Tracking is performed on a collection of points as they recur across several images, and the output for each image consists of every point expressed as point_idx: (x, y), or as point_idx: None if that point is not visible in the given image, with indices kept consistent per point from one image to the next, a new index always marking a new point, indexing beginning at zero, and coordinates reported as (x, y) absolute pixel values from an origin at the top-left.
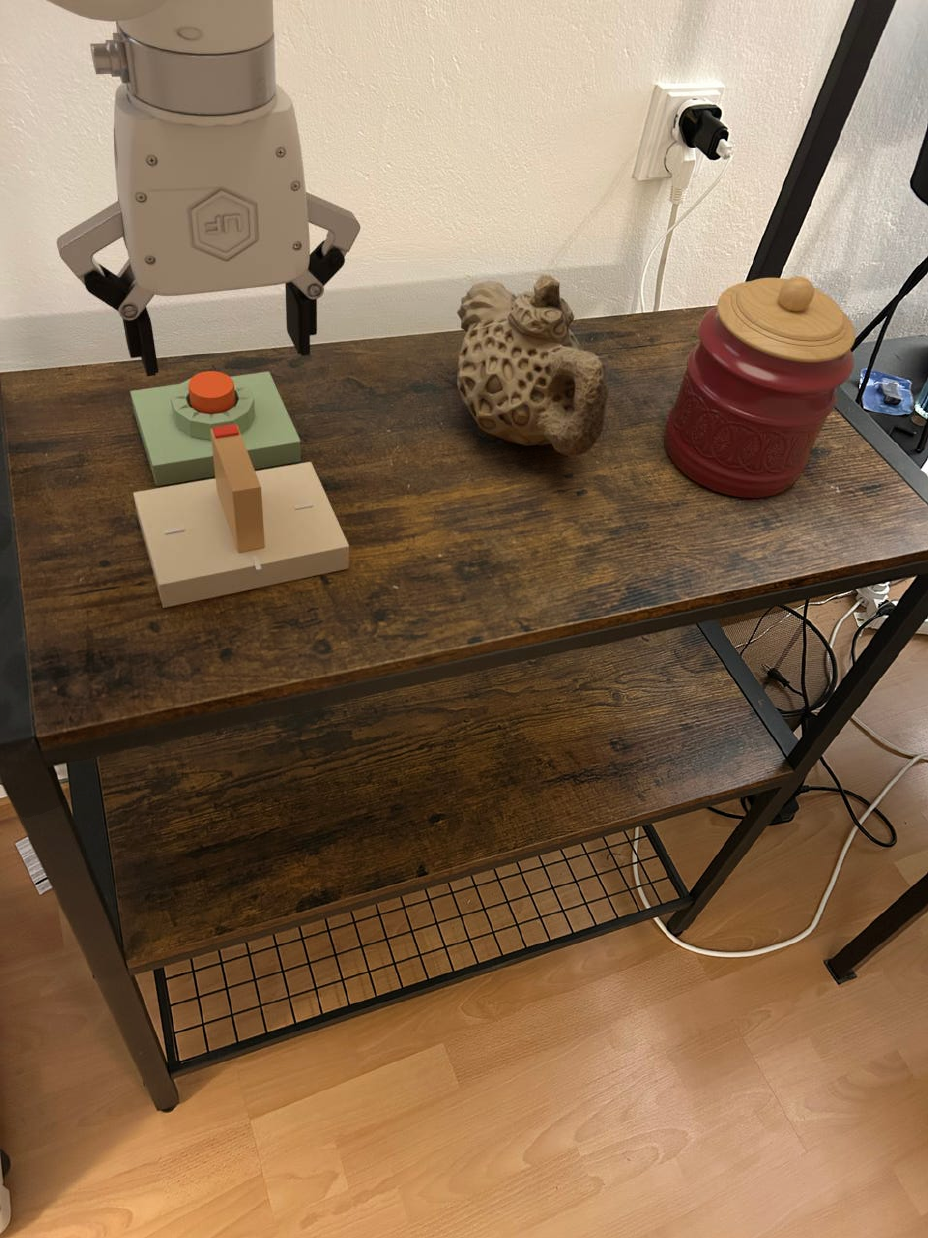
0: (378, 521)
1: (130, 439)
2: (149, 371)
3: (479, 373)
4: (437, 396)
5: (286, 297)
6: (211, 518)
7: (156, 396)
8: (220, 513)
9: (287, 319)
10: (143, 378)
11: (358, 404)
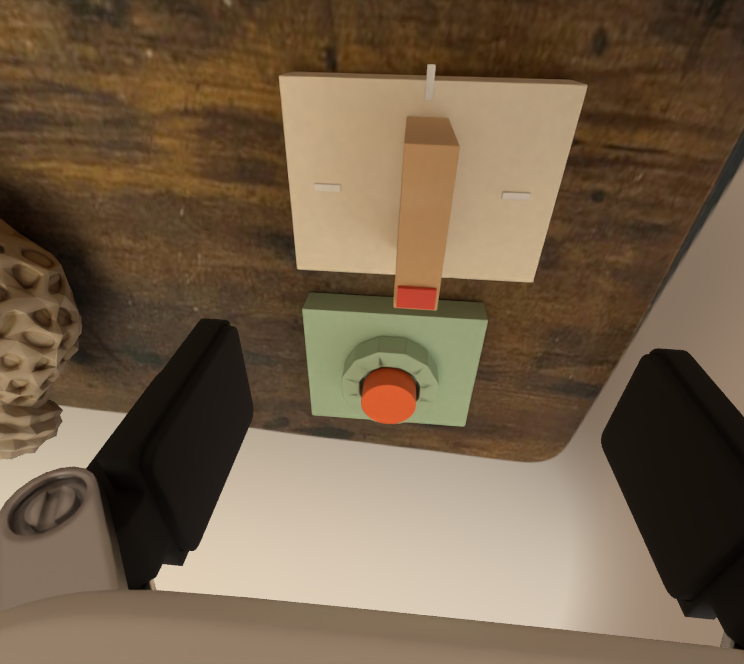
0: (231, 158)
1: (480, 373)
2: (685, 357)
3: (16, 324)
4: (132, 343)
5: (216, 495)
6: (458, 204)
7: (441, 412)
8: None
9: (240, 435)
10: (435, 440)
11: None
